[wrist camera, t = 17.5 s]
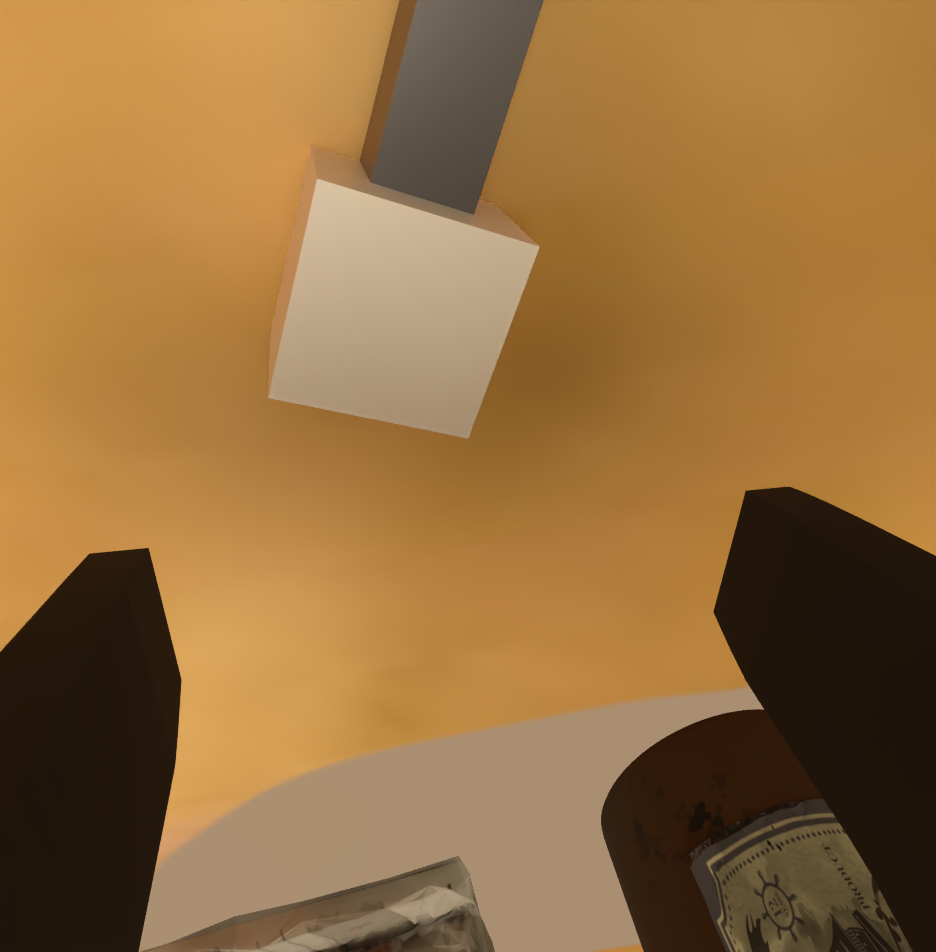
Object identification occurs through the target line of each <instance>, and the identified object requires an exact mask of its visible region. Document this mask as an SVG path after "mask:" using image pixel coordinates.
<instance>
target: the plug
mask: <svg viewBox="0 0 936 952" xmlns="http://www.w3.org/2000/svg"><path fill="white" fill-rule="evenodd" d="M542 3H543V0H400V1H399V5H398V9H397V13H396V17H395V21H394V25H393V29H392V33H391V37H390V41H389V45H388V49H387V53H386V57H385V61H384V65H383V70H382V74H381V78H380V82H379V86H378V90H377V94H376V98H375V102H374V106H373V110H372V114H371V118H370V122H369V126H368V130H367V134H366V138H365V142H364V146H363V150H362V154H361V158H360V161H359V160H356V159H353V158H350V157H347V156H344V155H340V154H337V153H334V152H331V151H328V150H325V149H322V148H319V147H315V146H312V145H311V146H310V150H309V155H308V160H307V164H306V169H305V173H304V178H303V183H302V187H301V192H300V197H299V201H298V206H297V210H296V215H295V220H294V224H293V229H292V234H291V238H290V243H289V247H288V252H287V257H286V261H285V266H284V271H283V275H282V280H281V284H280V289H279V294H278V298H277V303H276V308H275V312H274V317H273V321H272V326H271V331H270V355H269V383H268V398H270V399H275V400H280V401H285V402H290V403H295V404H300V405H305V406H310V407H315V408H320V409H325V410H330V411H334V412H339V413H344V414H349V415H354V416H359V417H364V418H369V419H374V420H379V421H384V422H389V423H394V424H399V425H404V426H409V427H413V428H418V429H423V430H428V431H433V432H438V433H443V434H448V435H453V436H458V437H463V438H468V439H469V436H470V433H471V431H472V428H473V425H474V422H475V420H476V417H477V414H478V412H479V409H480V406H481V404H482V401H483V398H484V396H485V393H486V390H487V387H488V385H489V382H490V379H491V377H492V374H493V371H494V369H495V366H496V363H497V361H498V358H499V355H500V352H501V350H502V347H503V344H504V342H505V339H506V336H507V334H508V331H509V328H510V326H511V323H512V320H513V317H514V315H515V312H516V309H517V307H518V304H519V301H520V299H521V296H522V293H523V291H524V288H525V285H526V282H527V280H528V277H529V274H530V272H531V269H532V266H533V264H534V261H535V258H536V256H537V253H538V250H539V248H540V247H539V246H538V245H537V244H536V243H535V242H534V241H533V240H532V239H531V238H530V237H529V236H528V235H527V234H526V233H525V232H524V231H523V230H522V229H521V228H520V227H519V226H518V225H517V224H516V223H515V222H513V221H512V220H511V219H510V218H509V217H508V216H507V215H506V214H505V213H504V212H503V211H502V210H501V209H500V208H499V207H498V206H497V205H496V204H493V203H490V202H487V201H484V200H481V199H479V197H480V194H481V191H482V188H483V185H484V182H485V179H486V176H487V173H488V170H489V167H490V164H491V160H492V157H493V154H494V151H495V148H496V145H497V142H498V139H499V136H500V133H501V130H502V127H503V123H504V120H505V117H506V114H507V111H508V108H509V105H510V102H511V99H512V96H513V93H514V90H515V86H516V83H517V80H518V77H519V74H520V71H521V68H522V65H523V62H524V59H525V56H526V53H527V49H528V46H529V43H530V40H531V37H532V34H533V31H534V28H535V25H536V22H537V19H538V16H539V13H540V9H541V6H542Z"/></svg>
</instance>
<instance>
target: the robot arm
mask: <svg viewBox="0 0 936 952" xmlns="http://www.w3.org/2000/svg"><path fill="white" fill-rule="evenodd" d="M714 614H715V616H716V619H717V621H718V623H719V625H720V627H721V630H722V632H723V634H724V636H725V639H726V641H727V643H728V645H729V647H730V650H731V652H732V654H733V656H734V658H735V660H736V662H737V664H738V666H739V668H740V670H741V672H742V674H743V676H744V678H745V680H746V681H747V683H748V684H749V686H750V688H751V689H752V691H753V692H754V694H755V696H756V697H757V699H758V700H759V702H760V703H761V705H762V706H763V708H764V710H765V711H766V713H767V714H768V716H769V717H770V719H771V720H772V722H773V724H774V725H775V727H776V728H777V730H778V731H779V733H780V734H781V736H782V737H783V739H784V740H785V742H786V743H787V745H788V746H789V748H790V749H791V751H792V752H793V754H794V756H795V757H796V759H797V760H798V762H799V763H800V765H801V766H802V768H803V769H804V771H805V772H806V774H807V775H808V777H809V778H810V780H811V781H812V783H813V784H814V786H815V787H816V789H817V790H818V792H819V793H820V795H821V796H822V798H823V799H824V801H825V802H826V804H827V805H828V807H829V808H830V810H831V811H832V813H833V814H834V816H835V817H836V819H837V821H838V822H839V824H840V825H841V827H842V828H843V830H844V831H845V833H846V834H847V836H848V837H849V839H850V840H851V842H852V844H853V845H854V847H855V849H856V850H857V852H858V854H859V855H860V857H861V859H862V860H863V862H864V863H865V865H866V867H867V868H868V870H869V872H870V873H871V875H872V877H873V879H874V880H875V882H876V884H877V886H878V888H879V890H880V892H881V894H882V895H883V897H884V899H885V901H886V903H887V905H888V907H889V909H890V910H891V912H892V914H893V916H894V918H895V920H896V922H897V923H898V925H899V927H900V929H901V931H902V933H903V935H904V937H905V938H906V940H907V942H908V944H909V946H910V948H911V950H912V952H936V556H935V555H933V554H931V553H929V552H927V551H925V550H923V549H921V548H919V547H917V546H915V545H913V544H911V543H909V542H907V541H905V540H903V539H901V538H899V537H897V536H895V535H893V534H891V533H889V532H887V531H885V530H883V529H881V528H879V527H877V526H875V525H873V524H871V523H869V522H867V521H865V520H863V519H861V518H859V517H857V516H854V515H852V514H850V513H848V512H846V511H844V510H842V509H840V508H838V507H836V506H834V505H831V504H829V503H827V502H825V501H823V500H821V499H818V498H816V497H814V496H811V495H809V494H807V493H804V492H802V491H799V490H797V489H794V488H791V487H780V488H770V489H760V490H749V491H746V492H745V496H744V500H743V504H742V507H741V511H740V515H739V519H738V522H737V526H736V530H735V534H734V537H733V541H732V545H731V548H730V552H729V556H728V560H727V563H726V567H725V571H724V575H723V578H722V582H721V586H720V590H719V593H718V597H717V601H716V605H715V608H714ZM180 694H181V676H180V672H179V668H178V664H177V660H176V656H175V652H174V648H173V644H172V640H171V636H170V632H169V628H168V624H167V620H166V616H165V612H164V608H163V604H162V600H161V596H160V592H159V588H158V584H157V580H156V576H155V572H154V568H153V564H152V560H151V556H150V552H149V548H144V549H134V550H123V551H113V552H102V553H92V554H89V555H88V556H87V557H86V558H85V559H84V560H83V561H82V562H81V563H80V564H79V566H78V567H77V568H76V569H75V570H74V571H73V572H72V573H71V574H70V575H69V576H68V577H67V578H66V579H65V581H64V582H63V583H62V584H61V585H60V586H59V587H58V588H57V589H56V591H55V592H54V593H53V594H52V595H51V596H50V597H49V598H48V599H47V601H46V602H45V603H44V604H43V605H42V606H41V607H40V608H39V610H38V611H37V612H36V613H35V614H34V615H33V616H32V617H31V619H30V620H29V621H28V622H27V623H26V624H25V625H24V626H23V627H22V628H21V630H20V631H19V632H18V633H17V634H16V635H15V636H14V637H13V638H12V640H11V641H10V642H9V643H8V644H7V645H6V646H5V647H4V648H3V650H2V651H1V652H0V952H138V951H139V946H140V941H141V936H142V931H143V926H144V921H145V916H146V911H147V906H148V901H149V896H150V891H151V886H152V881H153V876H154V871H155V866H156V861H157V856H158V851H159V846H160V841H161V836H162V831H163V826H164V821H165V815H166V810H167V805H168V800H169V795H170V790H171V784H172V779H173V774H174V768H175V761H176V749H177V737H178V725H179V709H180Z"/></svg>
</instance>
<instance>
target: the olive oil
mask: <svg viewBox="0 0 936 952" xmlns="http://www.w3.org/2000/svg"><path fill="white" fill-rule="evenodd" d="M601 826H602V831H603V835H604V839H605V842H606V844H607V848H608V851H609V854H610V857H611V859H612V862H613V865H614V868H615V871H616V873H617V877H618V879H619V882H620V885H621V888H622V891H623V894H624V897H625V899H626V902H627V905H628V908H629V911H630V914H631V917H632V919H633V922H634V925H635V928H636V931H637V934H638V936H639V939H640V942H641V945H642V948H643V951H644V952H912V950H911V948H910V946H909V944H908V942H907V940H906V938H905V937H904V935H903V933H902V931H901V929H900V927H899V925H898V923H897V922H896V920H895V918H894V916H893V914H892V912H891V910H890V909H889V907H888V905H887V903H886V901H885V899H884V897H883V895H882V894H881V892H880V890H879V888H878V886H877V884H876V882H875V880H874V879H873V877H872V875H871V873H870V872H869V870H868V868H867V867H866V865H865V863H864V862H863V860H862V859H861V857H860V855H859V854H858V852H857V850H856V849H855V847H854V845H853V844H852V842H851V840H850V839H849V837H848V836H847V834H846V833H845V831H844V830H843V828H842V827H841V825H840V824H839V822H838V821H837V819H836V817H835V816H834V814H833V813H832V811H831V810H830V808H829V807H828V805H827V804H826V802H825V801H824V799H823V798H822V796H821V795H820V793H819V792H818V790H817V789H816V787H815V786H814V784H813V783H812V781H811V780H810V778H809V777H808V775H807V774H806V772H805V771H804V769H803V768H802V766H801V765H800V763H799V762H798V760H797V759H796V757H795V756H794V754H793V752H792V751H791V749H790V748H789V746H788V745H787V743H786V742H785V740H784V739H783V737H782V736H781V734H780V733H779V731H778V730H777V728H776V727H775V725H774V724H773V722H772V720H771V719H770V717H769V716H768V714H767V713H766V711H765V710H743V711H736V712H730V713H726V714H721V715H717V716H714V717H710V718H707V719H704V720H701V721H699V722H696V723H694V724H691V725H689V726H687V727H685V728H682V729H680V730H678V731H676V732H674V733H672V734H671V735H669V736H667V737H665V738H664V739H662V740H660V741H659V742H657V743H656V744H654V745H653V746H651V747H650V748H649V749H647V750H646V751H645V752H643V753H642V754H641V755H640V756H639V757H637V758H636V759H635V760H634V761H633V762H632V763H631V764H630V765H629V766H628V767H627V768H626V769H625V770H624V771H623V773H622V774H621V775H620V776H619V777H618V779H617V780H616V782H615V783H614V785H613V786H612V788H611V790H610V792H609V794H608V796H607V798H606V800H605V803H604V806H603V809H602V815H601Z"/></svg>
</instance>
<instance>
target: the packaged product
mask: <svg viewBox="0 0 936 952" xmlns="http://www.w3.org/2000/svg"><path fill="white" fill-rule="evenodd" d="M140 952H495V951H494V947H493V944H492V941H491V938H490V936H489V934H488V932H487V929H486V927H485V925H484V923H483V920H482V918H481V916H480V913H479V910H478V906H477V902H476V898H475V895H474V890H473V887H472V883H471V879H470V875H469V873H468V871H467V869H466V868H465V866H464V864H463V862H462V861H461V859H460V857H459V856H456V857H453V858H450V859H447V860H444V861H441V862H437V863H434V864H431V865H428V866H425V867H422V868H419V869H415V870H412V871H409V872H406V873H403V874H400V875H397V876H394V877H390V878H387V879H383V880H379V881H376V882H372V883H368V884H365V885H361V886H357V887H353V888H350V889H346V890H342V891H339V892H335V893H332V894H328V895H324V896H321V897H316V898H313V899H309V900H305V901H301V902H297V903H292V904H288V905H283V906H279V907H274V908H270V909H265V910H261V911H256V912H252V913H248V914H244V915H238V916H234V917H232V918H229V919H227V920H224V921H222V922H219V923H217V924H214V925H212V926H210V927H207V928H205V929H202V930H200V931H197V932H195V933H192V934H190V935H188V936H185V937H182V938H180V939H178V940H175V941H172V942H170V943H167V944H164V945H161V946H158V947H154V948H151V949H147V950H144V951H140Z"/></svg>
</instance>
